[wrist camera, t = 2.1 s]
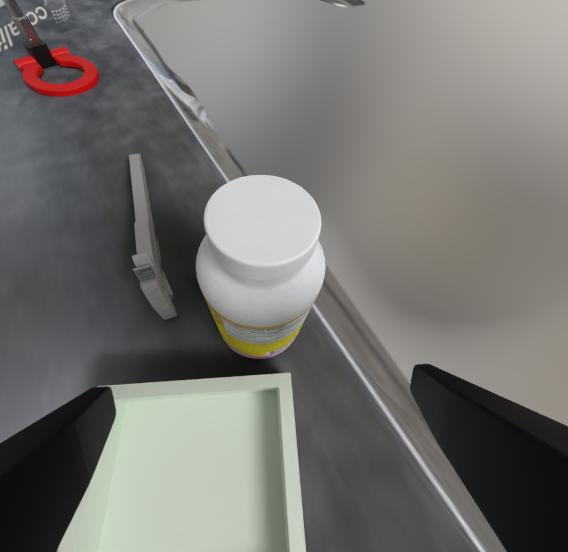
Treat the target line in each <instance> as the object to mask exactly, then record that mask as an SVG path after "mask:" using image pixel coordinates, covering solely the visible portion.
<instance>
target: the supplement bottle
mask: <svg viewBox="0 0 568 552" xmlns="http://www.w3.org/2000/svg"><path fill="white" fill-rule="evenodd" d="M204 227H205V231H206V235H205V237H204V239H203V240H202V242H201V244H200V247H199V250H198V253H197V258H196V274H197V280H198V283H199V286H200V288H201V291H202V293H203V295H204V298H205V300H206V302H207V304H208V307H209V309H210V311H211V314H212V316H213V318H214V320H215V323H216V325H217V327H218V330H219V332H220V334H221V336H222V338H223V339H224V341H225V342H226V344H227V345H228V346H229V347H230V348H231V349H232V350H233V351H235V352H236V353H238V354H240V355H242V356H245V357H248V358H254V359H264V358H269V357H272V356H275V355H277V354H279V353H281V352H282V351H284V350H285V349H286V348H288V347H289V346H290V345H291V343H292V342H293V341H294V339H295V338H296V336H297V334H298V332H299V330H300V328H301V326H302V324H303V322H304V320H305V318H306V316H307V314H308V313H309V311H310V309H311V307H312V305H313V303H314V301H315V299H316V297H317V295H318V293H319V291H320V289H321V287H322V284H323V281H324V276H325V258H324V254H323V250H322V247H321V245H320V243H319V241H318V238H319V234H320V229H321V216H320V212H319V209H318V207H317V204H316V203H315V201H314V200H313V198H312V197H311V196H310V195H309V194H308V193H307V192H306V191H305V190H304V189H303V188H302V187H300V186H299V185H297V184H295V183H293V182H291V181H289V180H287V179H283V178H280V177H276V176H269V175H251V176H245V177H240V178H237V179H235V180H232V181H230V182H228V183H226V184H225V185H223V186H222V187H220V188H219V189H218V190H217V191H216V192H215V193H214V194H213V195H212V196H211V198H210V199H209V201H208V203H207V205H206V208H205V212H204Z"/></svg>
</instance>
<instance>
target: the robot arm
mask: <svg viewBox="0 0 568 552" xmlns="http://www.w3.org/2000/svg"><path fill="white" fill-rule="evenodd" d="M410 390H411V393H412V396H413V398H414V399H415V401H416V403H417V405H418V407H419V409H420V411H421V413H422V415H423V417H424V419H425V420H426V422H427V424H428V426H429V428H430V430H431V432H432V434H433V436H434V437H435V439H436V441H437V443H438V444H439V446H440V448H441V449H442V451H443V452H444V454H445V456H446V457H447V459H448V460H449V462H450V463H451V465H452V467H453V468H454V470H455V471H456V473H457V474H458V476H459V477H460V479H461V481H462V482H463V484H464V485H465V487H466V488H467V490H468V492H469V493H470V495H471V496H472V498H473V499H474V501H475V503H476V504H477V506H478V507H479V509H480V510H481V512H482V513H483V515H484V517H485V518H486V520H487V521H488V523H489V524H490V526H491V528H492V529H493V531H494V532H495V534H496V535H497V537H498V538H499V540H500V542H501V543H502V545H503V546H504V548H505V549H506V551H507V552H568V426H566V425H564V424H561V423H559V422H557V421H555V420H553V419H550V418H548V417H546V416H544V415H541V414H539V413H537V412H535V411H532V410H530V409H528V408H526V407H524V406H521V405H519V404H517V403H515V402H512V401H510V400H508V399H506V398H504V397H501V396H499V395H497V394H495V393H492V392H490V391H488V390H486V389H484V388H481V387H479V386H477V385H474V384H472V383H470V382H468V381H466V380H463V379H461V378H459V377H457V376H455V375H452V374H450V373H448V372H445V371H443V370H441V369H439V368H437V367H434V366H432V365H430V364H418V365H415V367H414V368H413V373H412V379H411V384H410ZM115 418H116V407H115V402H114V397H113V392H112V389H111V388H110V387H108V386H103V387H93V388H91V389H89V390H87V391H86V392H84V393H83V394H81V395H79V396H78V397H76V398H74V399H73V400H71V401H69V402H68V403H66V404H64V405H63V406H61V407H59V408H58V409H56V410H54V411H53V412H51V413H49V414H48V415H46V416H45V417H43V418H41V419H40V420H38V421H36V422H35V423H33V424H31V425H30V426H28V427H26V428H25V429H23V430H21V431H20V432H18V433H16V434H15V435H13V436H11V437H10V438H8V439H7V440H5V441H3V442H2V443H0V552H56V551H57V549H58V547H59V545H60V543H61V541H62V539H63V537H64V535H65V533H66V531H67V529H68V527H69V525H70V523H71V521H72V519H73V517H74V515H75V512H76V510H77V508H78V506H79V504H80V502H81V500H82V498H83V496H84V494H85V492H86V490H87V488H88V486H89V484H90V482H91V479H92V477H93V475H94V472H95V470H96V467H97V465H98V462H99V459H100V457H101V454H102V452H103V449H104V447H105V444H106V441H107V439H108V436H109V434H110V431H111V429H112V426H113V423H114V421H115Z"/></svg>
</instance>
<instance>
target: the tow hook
mask: <svg viewBox="0 0 568 552" xmlns="http://www.w3.org/2000/svg"><path fill="white" fill-rule="evenodd" d="M3 1H4V3H5V4H6V6H7V8H8V9H9V11H10V13H11V14H12V20H13V22H14V23H15V25H16V27H17V28H18V30H19V32H20V33H21V35H22V36H23V38H24V40H25V41H26V42H23V44H24V46H25V48H26V49H27V51H28V52H29V54H30V56H28V57H24V58H20V59H17V60H13V62H14V64H15V65H16V67H17V68H18V69H19V71H20V72H21V73H23V78H24V80H25V82H26V83H27V85H28V86H29V87H30V88H31V89H32V90H34V91H36V92H38V93H40V94H44V95H48V96H59V97H61V96H71V95H76V94H80V93H83V92H85V91H88V90H90V89H91V88H93V87H94V86H95V85H96V84H97V83H98V80H99V73H98V71H97V69H96V67H95V66H94V64H93V63H91V62H90V61H88V60H86V59H84V58H81V57H78V56H73V55H70V53H69V51H68V50H67V49H66V48H65V47H61V48H57V49H53V50H49V48H48V47H47V45H46V43H45V42H43V41H42V40H41V39H39V37H38V35H37V33H36V32H35V30H34V28H33V26H32V24H31V23H30V21H29V19H28V17H27V16H26V15H24V14H23V12H22V11H21V9H20V7H19V5H18V3H17V2H16V0H3ZM57 63H58V64H59V65H61V66H69V67H75V68H79V69H81V70H83V71H84V75H83V76H82V77H81V78H80V79H78V80H77V81H74V82H71V83H66V84H51V83H46V82H44V81H41V80H40V76H41V74H42V73H43V72H44V71H43V69H44V68H48V67H51V66H55V65H56V64H57Z"/></svg>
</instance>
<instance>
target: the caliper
mask: <svg viewBox="0 0 568 552" xmlns="http://www.w3.org/2000/svg"><path fill="white" fill-rule="evenodd" d="M129 162H130V171H131V181H132V190H133V200H134V209H135V219H136V222H134V227H135V238H136V250H137V255H133V256H132V259H133V261H134V264H135V266H136V268H133V269H132V270H133V271H134V273H135V274H136V276H137V278H138V279H139V281H140V286H141V289H142V291H143V293H144V294H145V296H146V297H147V299H148V301H149V302H150V304H151V305H152V307H153V308H154V309H155V310H156V311H157V313H158V314H159V315H160V316H161V317H162V318H163V319H164V320H166V319H169V318H172V317H175V316H177V315H178V314H177V311H176V309H175V307H174V305H173V303H172V302H171V299H174V296H173V292H172V290H171V288H170V285H169V283H168V281H167V278H166V276H165V274H164V271H163V269H162V266H161V254H160V249H159V243H158V241H157V239H156V236H155V230H154V224H153V218H152V212H151V206H150V200H149V194H148V188H147V182H146V176H145V171H144V167H143V163H142V158H141V155H140V154H133V155H129Z"/></svg>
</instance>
